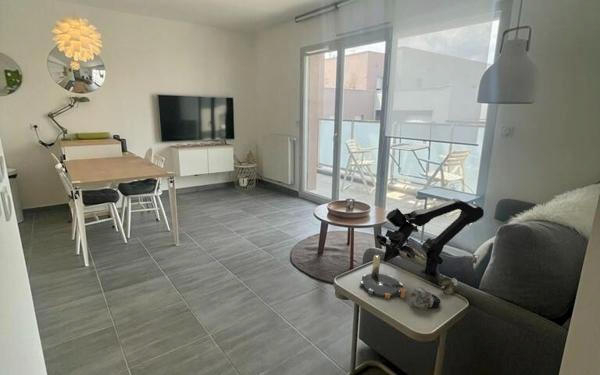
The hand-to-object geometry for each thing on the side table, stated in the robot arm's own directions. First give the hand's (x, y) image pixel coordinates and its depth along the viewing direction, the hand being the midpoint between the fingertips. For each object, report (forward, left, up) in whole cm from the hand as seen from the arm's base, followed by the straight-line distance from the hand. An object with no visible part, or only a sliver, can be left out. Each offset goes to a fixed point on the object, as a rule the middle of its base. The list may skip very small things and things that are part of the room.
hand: (384, 261), depth 143 cm
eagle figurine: (-11, +24, -8) cm, 28 cm away
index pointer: (+9, +14, -8) cm, 18 cm away
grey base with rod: (+9, +4, -7) cm, 12 cm away
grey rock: (+6, +22, -8) cm, 24 cm away
